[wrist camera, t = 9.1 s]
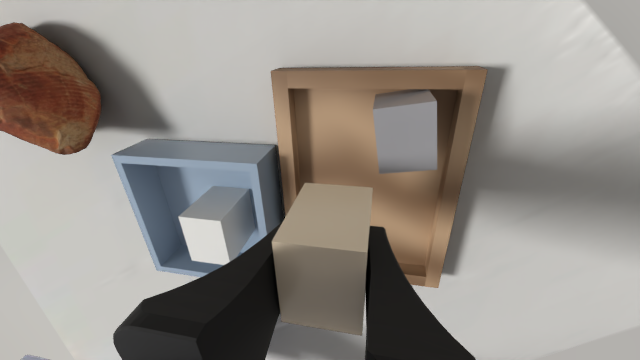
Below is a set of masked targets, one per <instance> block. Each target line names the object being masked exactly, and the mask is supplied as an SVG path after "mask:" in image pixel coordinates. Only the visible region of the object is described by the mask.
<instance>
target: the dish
mask: <svg viewBox="0 0 640 360" xmlns="http://www.w3.org/2000/svg"><path fill="white" fill-rule="evenodd" d="M111 156H112V158H113V161H114V163H115V166H116V168H117V171H118V173H119V176H120V179H121V181H122V184H123V186H124V189H125V191H126V194H127V196H128V199H129V201H130V204H131V206H132V209H133V211H134V214H135V217H136V219H137V222H138V224H139V227H140V229H141V232H142V234H143V237H144V239H145V242H146V244H147V247H148V250H149V252H150V255H151V257H152V260H153V262H154V265H155V267H156V270H157V271H164V272H170V273H177V274H184V275H190V276H197V277H203V276H205V275H207V274H208V273H210V272H212V271H214V270H216V269H218V268H220V267H222V266H223V265H220V264H213V263H206V262H199V261H192V259H191V256H190V253H189V250H188V246H187V243H186V240H185V237H184V234H183V230H182V227H181V224H180V221H179V218H178V216H180V215H181V214H182V213H183V212H184V211H185V210H186V209H187V208H189V207H190V206H191V205H192V204H193V203H194V202H195V201H196V200H198V199H199V198H200V197H201V196H202V195H203V194H204V193H205V192H207V191H208V190H209V189H210V188H211V187H212V186H220V187H232V188H244V189H249V194H250V200H251V206H252V212H253V218H254V224H255V230H254V232H253V233H252V235H251V236H250V238H249V239H248V241H247V242H246V244H245V245H244V247H243V248H242V250H241V251H240V253H239V254H238V256H240V255H241V254H242V253H244V252H245V251H247V250H248V249H249V248H251V247H252V246H253V245H255V244H256V243H257V242H259V241H260V240H261V239H262V238H264V237H265V236H266V235H267V234H268V233H270V232H271V231H272V230H273V229H274V228H275V227H277V226H278V225H279V224H280V223H281V222H283V213H282V204H281V194H280V185H279V176H278V166H277V157H276V148H275V145H263V144H242V143H221V142H199V141H178V140H157V139H146V140H144V141H141V142H139V143H137V144H135V145H132V146H130V147H128V148H126V149H124V150H121V151H119V152H117V153H115V154H112V155H111ZM238 256H237V257H238Z"/></svg>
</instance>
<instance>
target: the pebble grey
mask: <svg viewBox="0 0 640 360" xmlns="http://www.w3.org/2000/svg"><path fill="white" fill-rule="evenodd" d="M178 218H179V221H180V224H181V227H182V230H183V234H184V237H185V240H186V243H187V246H188V250H189V253H190V256H191V259H192V261H199V262H206V263H213V264H220V265H225V264H227V263H228V262H230V261H232V260H233V259H235V258H236V257H237V256H238V254H239V253H240V251H241V250H242V248H243V247H244V245H245V244H246V242H247V241H248V239H249V238H250V236H251V235H252V233H253V232H254V230H255V224H254V218H253V212H252V206H251V200H250V194H249V189H244V188H232V187H220V186H212V187H211V188H210V189H209V190H208V191H207V192H205V193H204V194H203V195H202V196H201V197H200V198H199V199H198V200H196V201H195V202H194V203H193V204H192V205H191V206H190V207H189V208H187V209H186V210H185V211H184V212H183V213H182V214H181V215H180V216H178Z"/></svg>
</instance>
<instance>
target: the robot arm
mask: <svg viewBox="0 0 640 360" xmlns="http://www.w3.org/2000/svg"><path fill="white" fill-rule="evenodd" d="M281 224H282V222H281V223H280V224H279V225H278V226H277V227H275V228H274V229H273V230H272V231H271V232H270V233H268V234H267V235H266V236H265V237H264V238H262V239H261V240H260V241H259V242H257V243H256V244H255V245H253V246H252V247H251V248H249V249H248V250H247V251H245V252H244V253H242V254H241V255H240V256H238V257H236V258H235V259H233V260H232V261H230V262H228V263H227V264H225V265H223V266H222V267H220V268H218V269H216V270H214V271H212V272H210V273H208V274H207V275H205V276H203V277H201V278H199V279H196V280H194V281H192V282H190V283H187V284H185V285H183V286H180V287H178V288H175V289H173V290H170V291H167V292H164V293H162V294H159V295H156V296H153V297H150V298H147V299H144V300H143V301H142V302H141V303H140V304H139V305H138V306H137V307H136V308H135V310H134V311H133V312H132V313H131V314H130V315H129V316H128V317H127V318H126V319H125V321H124V322H123V323H122V324H121V325H120V326H119V327H118V328H117V329H116V331H115V333H114V334H113V339H114V345H115V347H116V350H117V351H118V353H119V355H120V356H121V358H122V360H265V358H266V355H267V351H268V348H269V344H270V341H271V338H272V334H273V331H274V328H275V325H276V322H277V319H278V316H279V314H280V305H279V297H278V289H277V281H276V273H275V265H274V256H273V248H272V240H273V238H274V236H275V235H276V233H277V231H278V229H279V228H280V226H281ZM366 326H367V332H366V353H365V360H476V359H475V358H474V356H472V355H471V354H470V353H469V352H468V351H467V350H466V349H465V348H464V347H463V346H462V345H461V344H460V343H459V342H458V341H457V340H455V339H454V338H453V337H452V336H451V334H450V333H449V332H448V331H447V330H446V329H445V328H444V327H443V326H442V325H441V324H440V322H439V321H438V320H437V319H436V318H435V316H434V315H433V314H432V313H431V312H430V310H429V309H428V308H427V307H426V306H425V304H424V303H423V302H422V300H421V299H420V298H419V296H418V295H417V293H416V292H415V290H414V289H413V288H412V286H411V284H410V283H409V281H408V280H407V278H406V276H405V275H404V273H403V271H402V269H401V267H400V265H399V264H398V262H397V259H396V257H395V255H394V253H393V251H392V248H391V246H390V243H389V241H388V238H387V234H386V229H385V228H384V227H378V226H370V232H369V245H368V260H367V276H366ZM21 360H49V359H45V358H41V357H36V356H32V355H25V356H24V357H23V358H22V359H21Z"/></svg>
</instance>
